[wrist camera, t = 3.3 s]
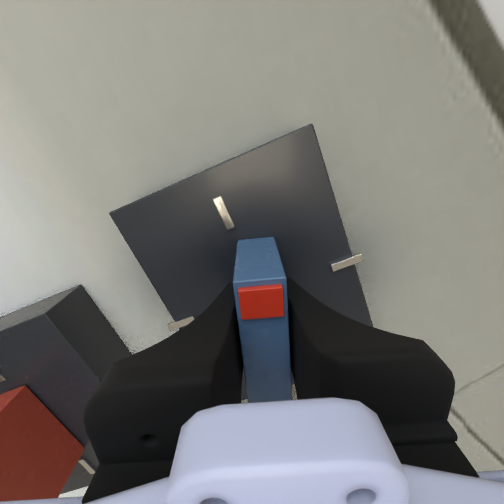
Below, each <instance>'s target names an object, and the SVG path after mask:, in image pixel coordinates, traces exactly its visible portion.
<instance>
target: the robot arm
mask: <svg viewBox="0 0 504 504" xmlns="http://www.w3.org/2000/svg"><path fill="white" fill-rule="evenodd" d="M286 280H287V299H288V319H289V339H290V358H291V371H292V375H293V378H294V383H295V387H296V392H297V398H298V400H284V401H269V402H254V403H241V390H242V377H243V368H244V365H243V357H242V350H241V342H240V335H239V327H238V319H237V312H236V304H235V296H234V289H233V282H229V283H228V284H227V285H226V286H225V287H224V289H223V290H222V291H221V293H220V294H219V295H218V296H217V297H216V298H215V300H214V301H213V302H212V303H211V304H210V305H209V306H208V307H207V308H206V309H205V310H204V311H203V312H202V313H201V314H200V315H199V316H198V317H197V318H195V319H194V320H193V321H192V322H190V323H189V324H188V325H186V326H185V327H184V328H182V329H180V330H179V331H177V332H176V333H174V334H173V335H171V336H170V337H168V338H166V339H164V340H163V341H161V342H159V343H157V344H155V345H153V346H151V347H149V348H147V349H145V350H143V351H141V352H138V353H136V354H133V355H131V356H128V357H126V358H124V359H121V360H119V361H116V362H114V363H113V364H112V366H111V367H110V369H109V370H108V371H107V373H106V374H105V376H104V377H103V379H102V381H101V382H100V384H99V385H98V387H97V389H96V390H95V392H94V393H93V395H92V397H91V398H90V400H89V402H88V403H87V405H86V407H85V408H84V413H83V423H84V427H85V431H86V433H87V435H88V438H89V440H90V442H91V445H92V447H93V449H94V452H95V454H96V456H97V459H98V461H99V463H100V464H99V466H98V468H97V470H96V472H95V474H94V476H93V478H92V480H91V482H90V485H89V487H88V489H87V491H86V493H85V495H84V496H83V497H67V498H51V499H35V500H19V501H3V502H0V504H504V470H500V471H484V472H476V471H475V470H474V468H473V467H472V465H471V464H470V462H469V461H468V460H467V458H466V457H465V455H464V454H463V453H462V451H461V450H460V448H459V447H458V446H457V444H456V443H455V441H457V438H458V437H457V434H456V432H455V431H454V429H453V428H452V426H451V425H450V424H449V422H448V421H447V419H448V415H449V411H450V407H451V403H452V399H453V395H454V389H455V380H454V377H453V374H452V372H451V370H450V369H449V368H448V367H447V365H446V364H445V363H444V362H443V361H442V360H441V359H440V357H439V356H438V355H437V354H436V353H435V352H434V351H433V350H432V349H431V348H430V347H429V346H428V345H427V344H426V343H425V342H424V341H423V340H419V339H415V338H410V337H406V336H402V335H397V334H393V333H390V332H386V331H383V330H380V329H377V328H374V327H371V326H368V325H365V324H363V323H360V322H358V321H355V320H353V319H351V318H349V317H346V316H344V315H342V314H340V313H339V312H337V311H335V310H333V309H331V308H330V307H328V306H326V305H325V304H323V303H322V302H320V301H319V300H317V299H316V298H315V297H313V296H312V295H311V294H309V293H308V292H307V291H306V290H304V289H303V288H302V287H301V286H300V285H299V284H298V283H296V282H295V281H294V280H293V279H292V278H286Z"/></svg>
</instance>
